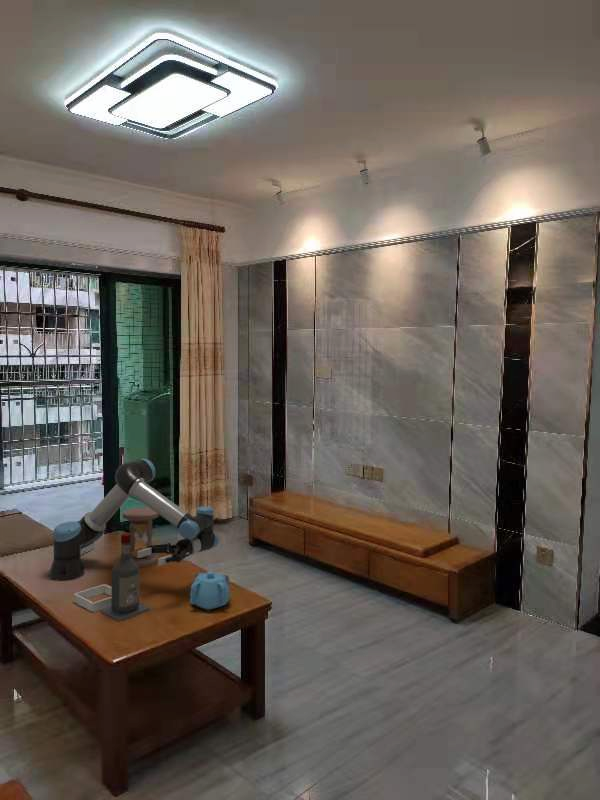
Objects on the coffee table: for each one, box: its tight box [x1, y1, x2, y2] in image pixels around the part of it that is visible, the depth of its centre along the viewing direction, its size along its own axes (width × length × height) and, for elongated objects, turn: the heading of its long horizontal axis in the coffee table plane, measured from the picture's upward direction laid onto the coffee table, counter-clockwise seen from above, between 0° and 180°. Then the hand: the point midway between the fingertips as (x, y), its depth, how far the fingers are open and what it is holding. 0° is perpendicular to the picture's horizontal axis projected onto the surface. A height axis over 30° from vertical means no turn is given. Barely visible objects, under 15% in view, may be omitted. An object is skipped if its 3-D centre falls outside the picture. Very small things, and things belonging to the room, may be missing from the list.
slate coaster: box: [99, 602, 151, 623], centre depth 231 cm, size 13×14×1 cm
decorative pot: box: [189, 571, 231, 610], centre depth 239 cm, size 16×16×14 cm
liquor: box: [111, 532, 140, 614], centre depth 230 cm, size 9×9×30 cm
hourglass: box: [122, 507, 160, 568], centre depth 288 cm, size 18×18×25 cm
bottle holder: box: [73, 583, 112, 613], centre depth 239 cm, size 15×15×4 cm
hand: (147, 558), depth 238 cm, fingers open, 13 cm apart
